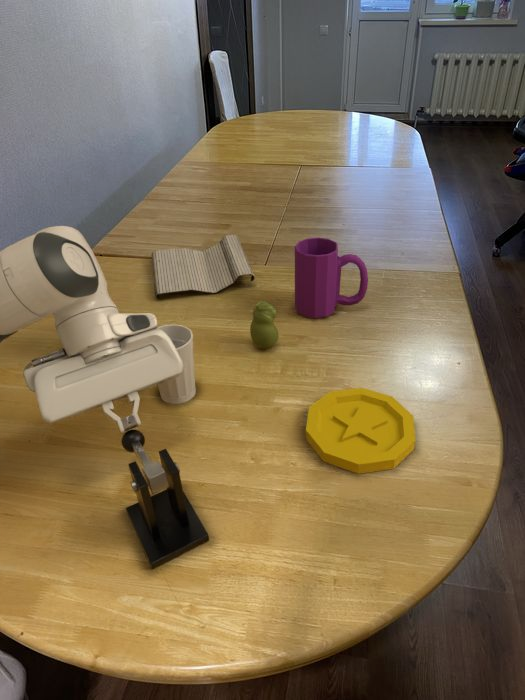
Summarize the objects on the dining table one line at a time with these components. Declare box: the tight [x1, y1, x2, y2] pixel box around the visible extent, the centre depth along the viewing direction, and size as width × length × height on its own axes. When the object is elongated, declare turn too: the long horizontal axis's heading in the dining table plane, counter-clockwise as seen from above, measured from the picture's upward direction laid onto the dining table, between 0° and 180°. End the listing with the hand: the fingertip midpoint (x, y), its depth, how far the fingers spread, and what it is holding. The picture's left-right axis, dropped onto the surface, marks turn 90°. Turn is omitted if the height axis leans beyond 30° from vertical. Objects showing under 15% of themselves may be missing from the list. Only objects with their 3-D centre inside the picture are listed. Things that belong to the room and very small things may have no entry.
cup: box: [156, 323, 197, 405], centre depth 90 cm, size 8×8×12 cm
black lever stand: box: [125, 448, 210, 570], centre depth 67 cm, size 10×8×12 cm
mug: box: [294, 237, 369, 319], centre depth 110 cm, size 9×16×15 cm, turn 84°
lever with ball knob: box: [120, 428, 169, 495], centre depth 68 cm, size 13×3×3 cm, turn 30°
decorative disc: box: [305, 387, 417, 474], centre depth 83 cm, size 17×18×2 cm
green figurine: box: [249, 300, 279, 350], centre depth 101 cm, size 6×5×10 cm
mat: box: [151, 234, 256, 299], centre depth 129 cm, size 23×24×5 cm
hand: (131, 429), depth 72 cm, fingers closed, pressing on lever with ball knob
